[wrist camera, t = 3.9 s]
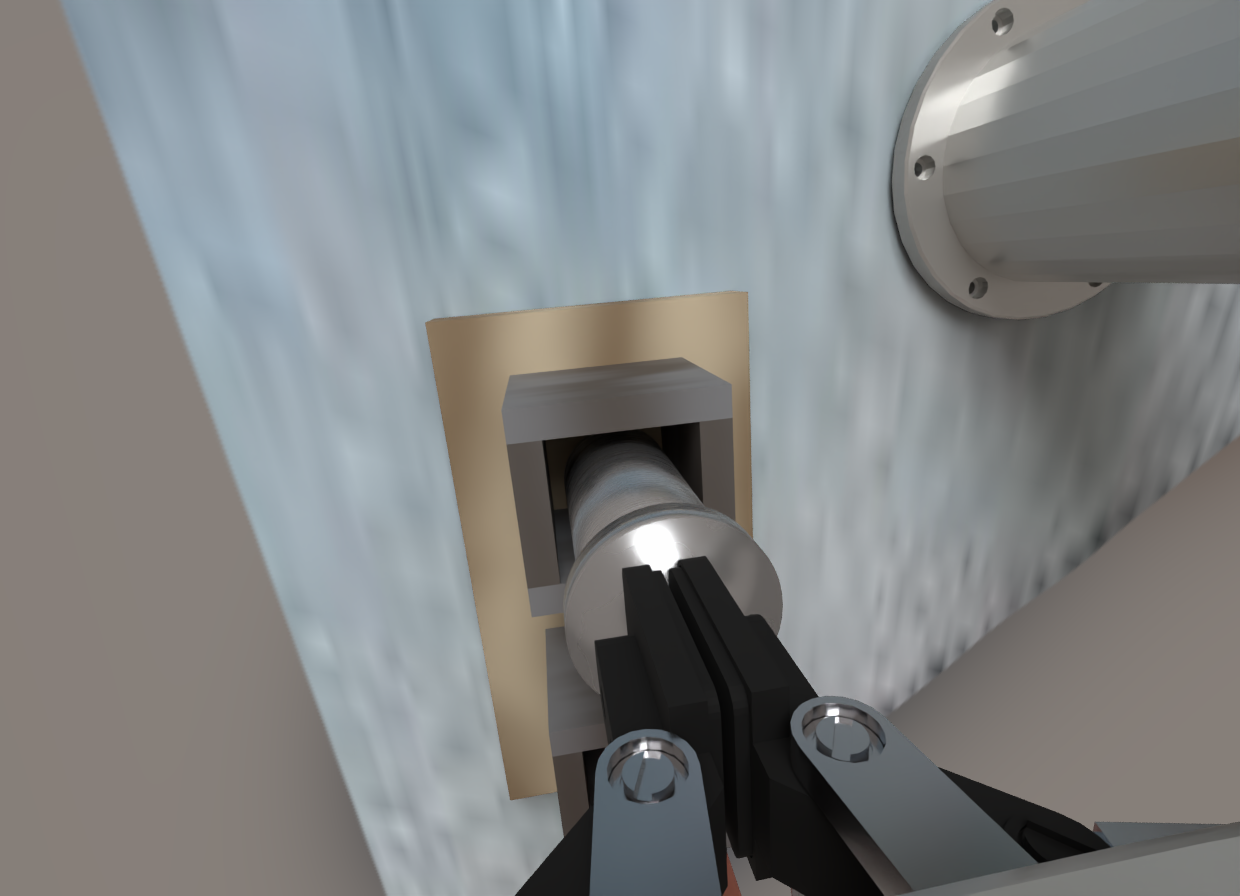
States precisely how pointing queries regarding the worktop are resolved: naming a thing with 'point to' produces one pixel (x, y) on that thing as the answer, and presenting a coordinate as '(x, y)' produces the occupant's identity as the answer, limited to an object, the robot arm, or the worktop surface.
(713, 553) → the grey plug
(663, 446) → the board
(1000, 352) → the worktop surface
